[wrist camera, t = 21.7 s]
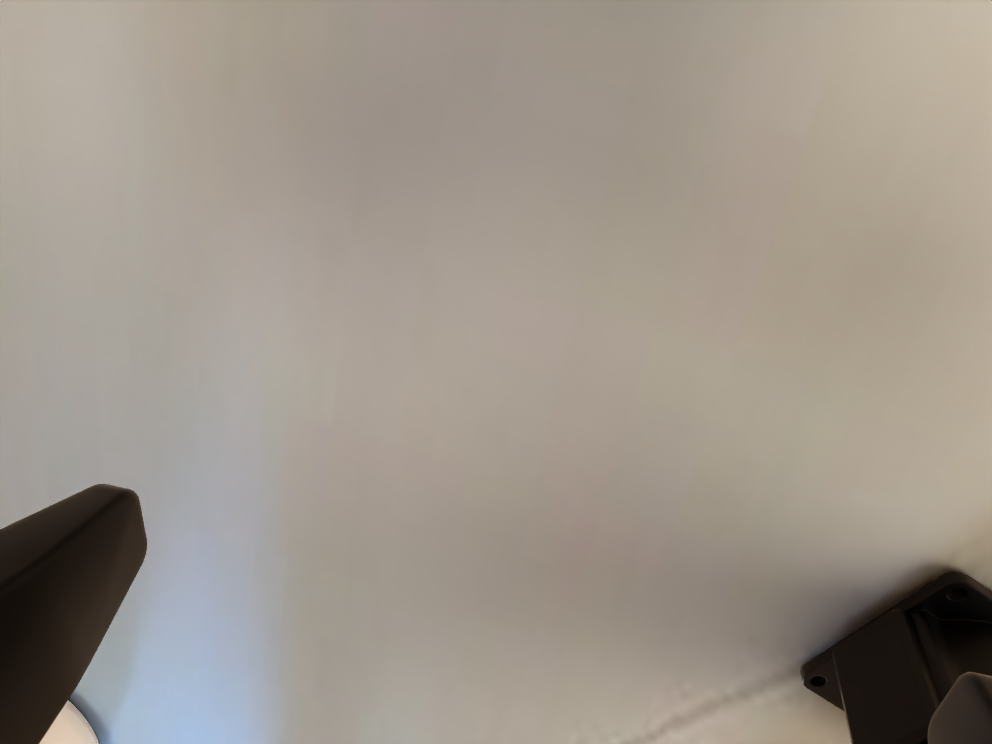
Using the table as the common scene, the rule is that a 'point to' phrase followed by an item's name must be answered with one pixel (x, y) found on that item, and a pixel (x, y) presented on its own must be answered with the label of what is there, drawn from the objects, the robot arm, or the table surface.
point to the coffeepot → (70, 728)
